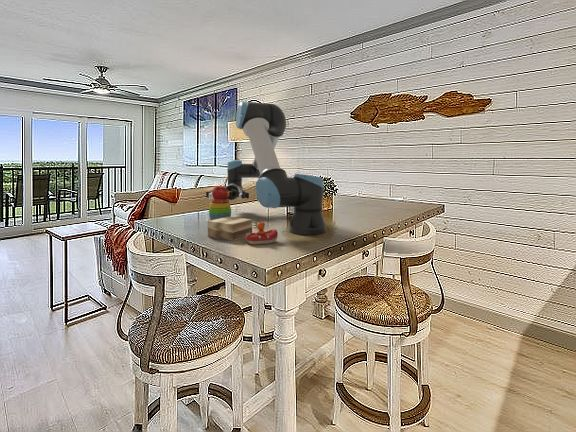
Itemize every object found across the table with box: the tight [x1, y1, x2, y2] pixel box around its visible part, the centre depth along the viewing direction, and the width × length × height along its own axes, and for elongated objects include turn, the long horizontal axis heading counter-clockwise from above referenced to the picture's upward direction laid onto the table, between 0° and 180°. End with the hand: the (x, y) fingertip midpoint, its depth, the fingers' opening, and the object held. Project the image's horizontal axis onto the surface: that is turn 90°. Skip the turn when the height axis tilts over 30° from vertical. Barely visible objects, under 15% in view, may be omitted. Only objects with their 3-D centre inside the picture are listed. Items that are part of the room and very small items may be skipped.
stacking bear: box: [208, 184, 232, 221], centre depth 154 cm, size 11×10×18 cm
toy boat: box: [244, 221, 279, 246], centre depth 129 cm, size 8×12×8 cm, turn 111°
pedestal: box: [207, 216, 253, 241], centre depth 138 cm, size 12×12×6 cm
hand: (224, 197), depth 163 cm, fingers open, 13 cm apart
